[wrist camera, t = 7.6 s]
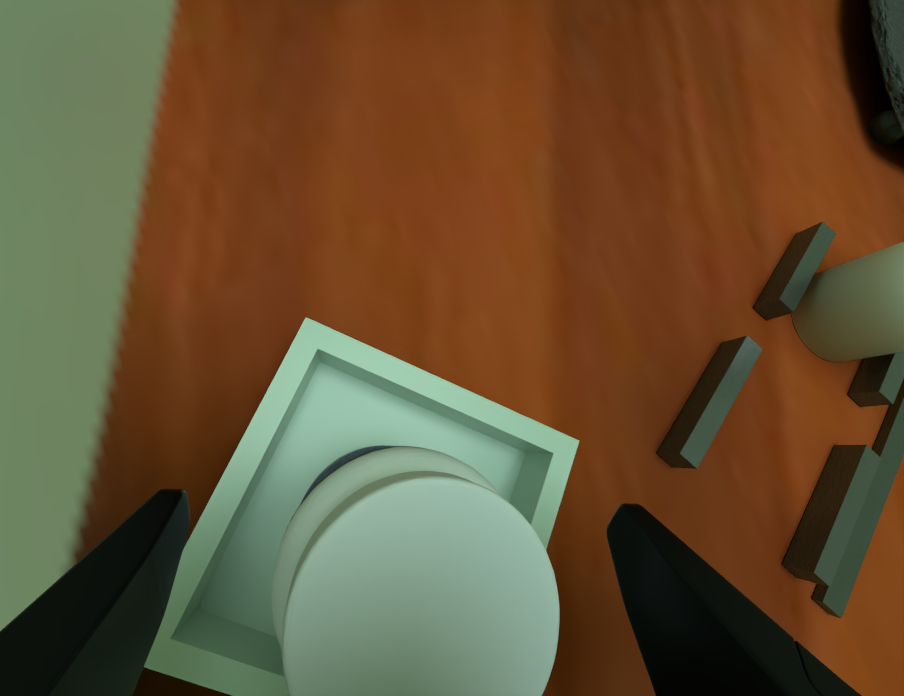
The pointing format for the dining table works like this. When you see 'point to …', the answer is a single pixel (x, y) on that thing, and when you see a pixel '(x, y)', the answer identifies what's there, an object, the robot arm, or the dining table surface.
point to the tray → (297, 466)
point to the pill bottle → (412, 583)
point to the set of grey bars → (849, 466)
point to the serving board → (889, 67)
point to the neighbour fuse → (855, 308)
